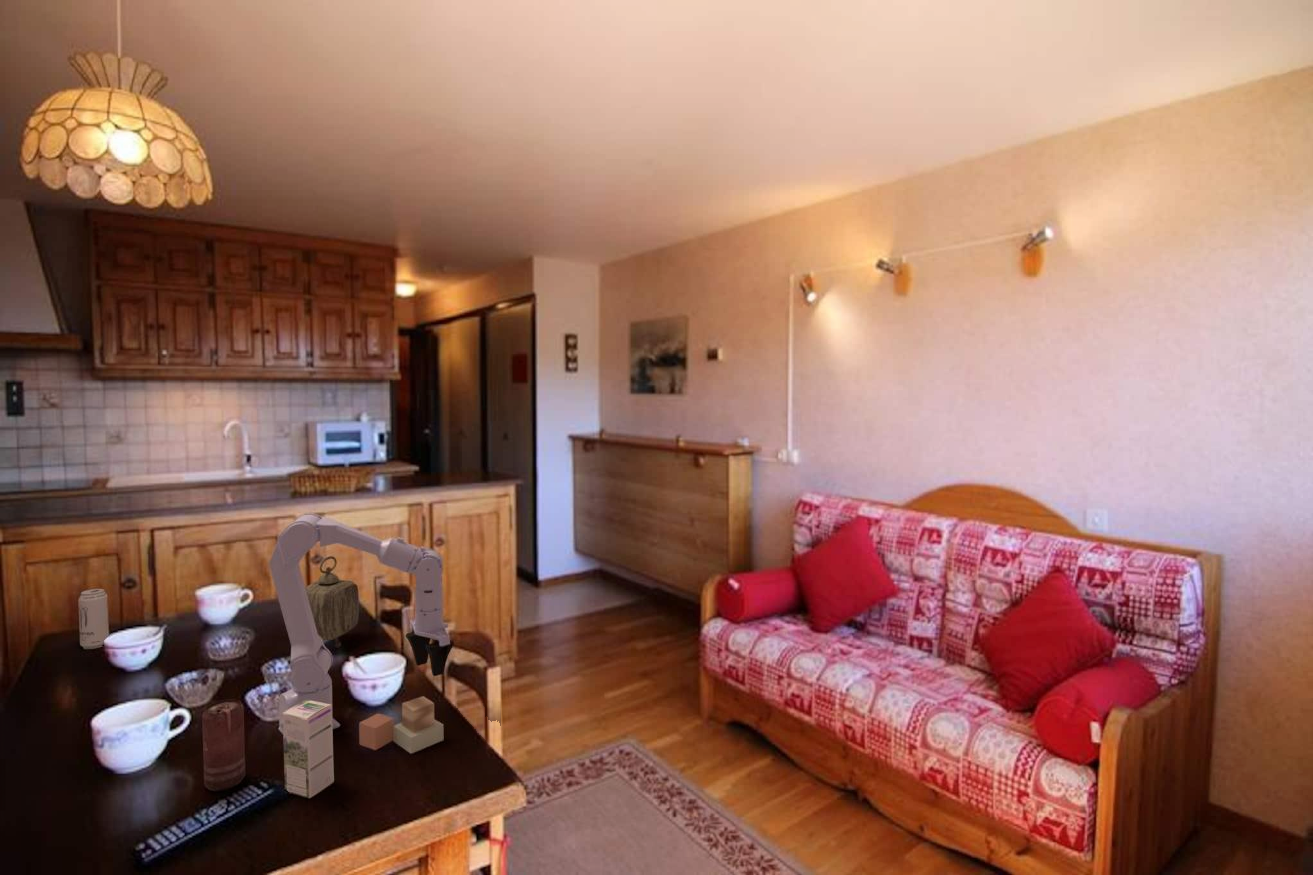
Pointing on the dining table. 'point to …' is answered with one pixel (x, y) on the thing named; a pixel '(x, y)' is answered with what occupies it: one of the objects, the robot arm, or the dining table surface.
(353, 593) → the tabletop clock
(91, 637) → the energy drink can
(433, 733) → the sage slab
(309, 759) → the syrup box
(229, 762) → the can
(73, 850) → the dining table surface
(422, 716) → the maple cube
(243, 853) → the dining table surface
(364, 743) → the terracotta cube
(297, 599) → the robot arm
